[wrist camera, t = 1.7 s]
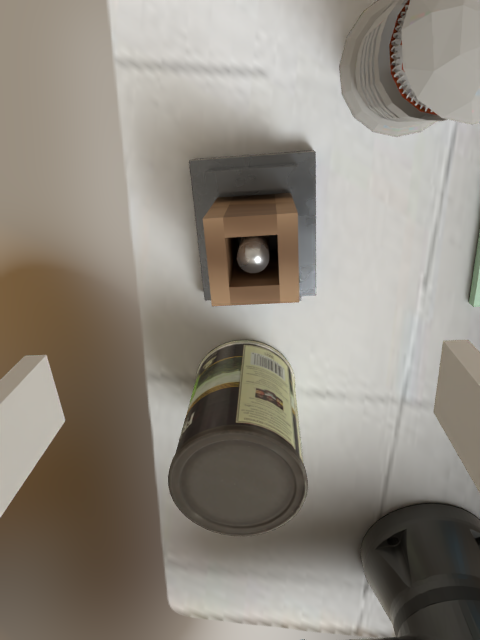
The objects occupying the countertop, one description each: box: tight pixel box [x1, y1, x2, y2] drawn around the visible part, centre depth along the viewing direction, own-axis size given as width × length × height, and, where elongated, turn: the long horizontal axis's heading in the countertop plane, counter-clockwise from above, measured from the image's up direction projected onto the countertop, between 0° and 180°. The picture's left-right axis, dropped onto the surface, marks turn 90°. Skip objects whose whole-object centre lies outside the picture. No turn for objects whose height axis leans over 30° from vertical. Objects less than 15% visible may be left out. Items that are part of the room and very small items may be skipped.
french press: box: [339, 0, 480, 137], centre depth 21 cm, size 10×12×25 cm
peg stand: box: [189, 150, 316, 301], centre depth 34 cm, size 12×10×10 cm
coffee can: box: [168, 340, 308, 536], centre depth 39 cm, size 10×10×14 cm
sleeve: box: [203, 193, 299, 306], centre depth 33 cm, size 6×6×9 cm
